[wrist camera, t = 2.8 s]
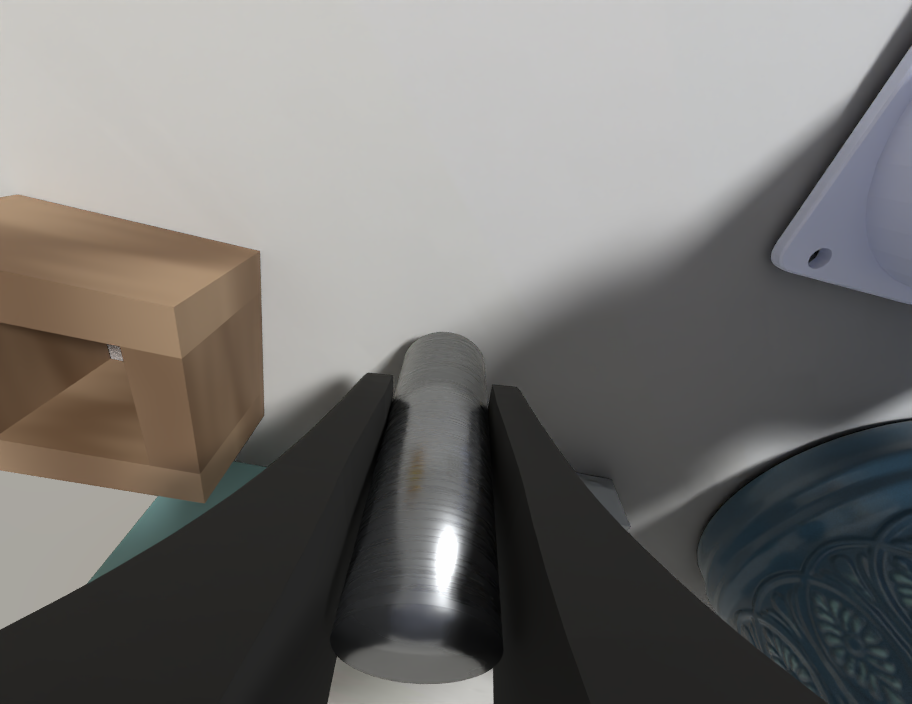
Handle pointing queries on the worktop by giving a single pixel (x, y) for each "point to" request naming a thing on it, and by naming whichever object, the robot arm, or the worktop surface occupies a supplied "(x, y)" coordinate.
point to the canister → (824, 566)
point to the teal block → (174, 516)
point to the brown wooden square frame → (125, 351)
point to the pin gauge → (427, 530)
